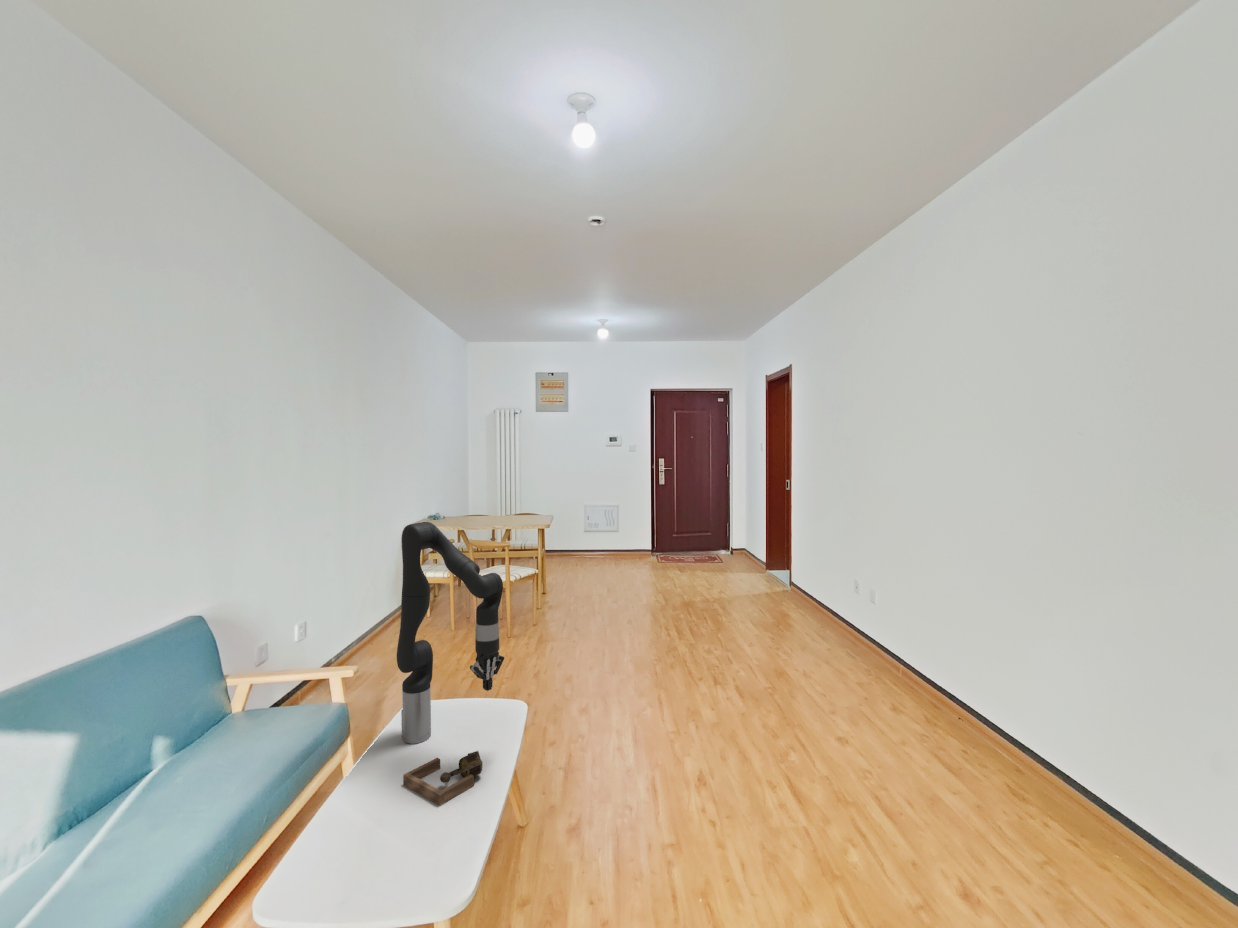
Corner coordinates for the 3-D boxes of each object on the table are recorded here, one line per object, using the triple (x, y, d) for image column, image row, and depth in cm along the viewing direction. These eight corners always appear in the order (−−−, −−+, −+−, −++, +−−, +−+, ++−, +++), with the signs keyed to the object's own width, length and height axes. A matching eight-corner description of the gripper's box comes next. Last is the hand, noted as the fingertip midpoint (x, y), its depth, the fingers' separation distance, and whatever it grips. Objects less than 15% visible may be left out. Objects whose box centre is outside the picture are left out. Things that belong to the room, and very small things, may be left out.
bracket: (403, 784, 174) (403, 774, 174) (437, 766, 183) (437, 757, 183) (440, 805, 163) (439, 794, 163) (474, 785, 173) (473, 775, 173)
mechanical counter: (468, 775, 183) (493, 764, 180) (445, 801, 170) (471, 789, 168) (457, 754, 183) (481, 743, 180) (434, 778, 171) (459, 766, 168)
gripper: (495, 628, 195) (495, 680, 196) (463, 639, 185) (463, 693, 185) (510, 633, 191) (510, 685, 191) (479, 644, 180) (479, 699, 181)
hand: (487, 689), depth 188 cm, fingers closed
